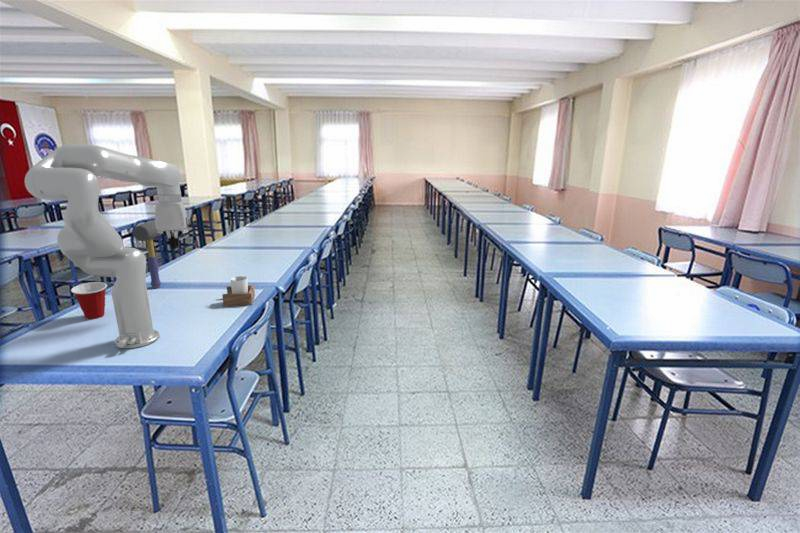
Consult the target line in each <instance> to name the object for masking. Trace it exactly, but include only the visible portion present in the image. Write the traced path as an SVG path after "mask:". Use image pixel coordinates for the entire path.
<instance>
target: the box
mask: <svg viewBox="0 0 800 533" xmlns="http://www.w3.org/2000/svg"><path fill="white" fill-rule="evenodd" d="M226 292H227V293H222V303H223V307H233V306H232V305H239V306H252V305H253V303H254V300H255V296H256V294H255V293H256V290H255V285H254V284H248V293H233V294H232V287H231V285H229V286H228V285H227V286H226Z"/></svg>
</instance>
